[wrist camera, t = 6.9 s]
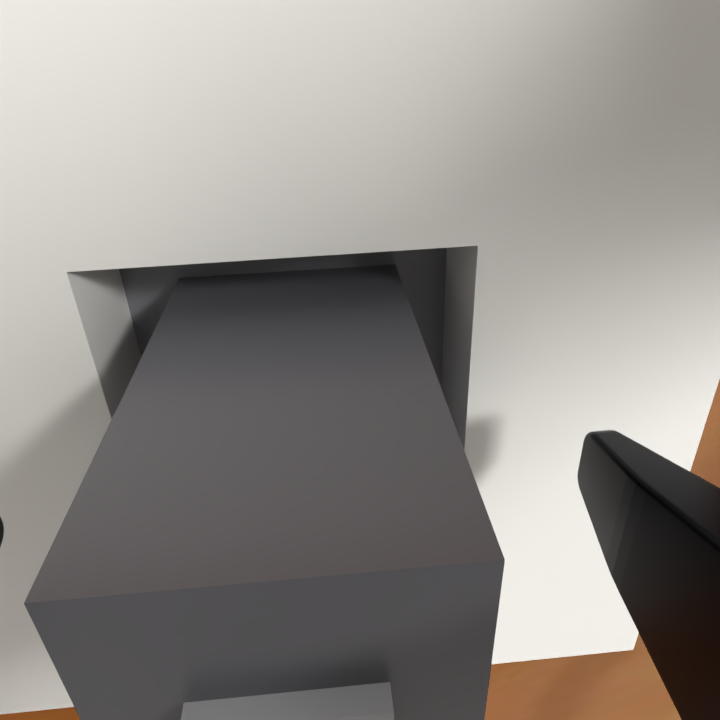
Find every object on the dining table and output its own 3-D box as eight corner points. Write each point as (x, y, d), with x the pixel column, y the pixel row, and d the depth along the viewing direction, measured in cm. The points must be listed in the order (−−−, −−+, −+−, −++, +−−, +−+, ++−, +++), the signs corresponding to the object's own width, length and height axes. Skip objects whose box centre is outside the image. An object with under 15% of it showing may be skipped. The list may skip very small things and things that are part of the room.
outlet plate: (728, -109, 9) (889, -156, 7) (583, 553, 17) (633, 649, 14) (-268, -76, 9) (-516, -116, 6) (46, 602, 16) (-3, 714, 14)
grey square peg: (395, 264, 11) (515, 589, 5) (396, 434, 13) (481, 821, 7) (178, 277, 11) (7, 636, 5) (213, 449, 13) (128, 861, 7)
